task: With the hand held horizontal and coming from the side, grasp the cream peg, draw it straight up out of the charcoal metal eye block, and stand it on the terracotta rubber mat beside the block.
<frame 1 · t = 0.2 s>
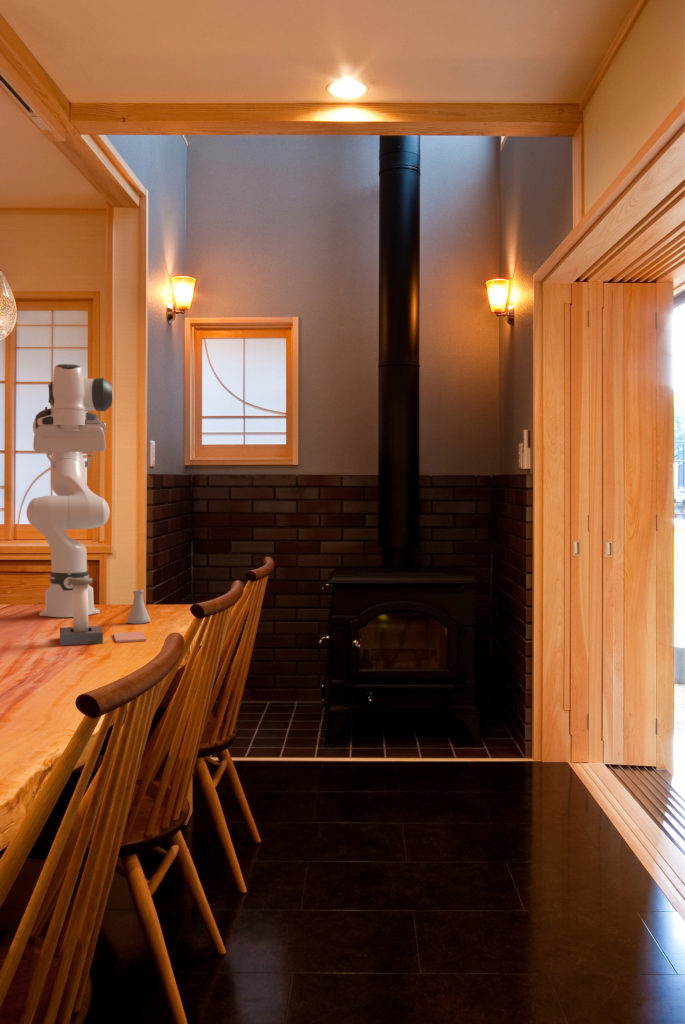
hand: (70, 467, 253), 48 cm above the table, tool pointing down, fingers open, 8 cm apart
peg: (80, 609, 239), in the eye block
flask: (138, 623, 270), on the table
eye block: (81, 640, 240), on the table
pad: (129, 638, 244), on the table
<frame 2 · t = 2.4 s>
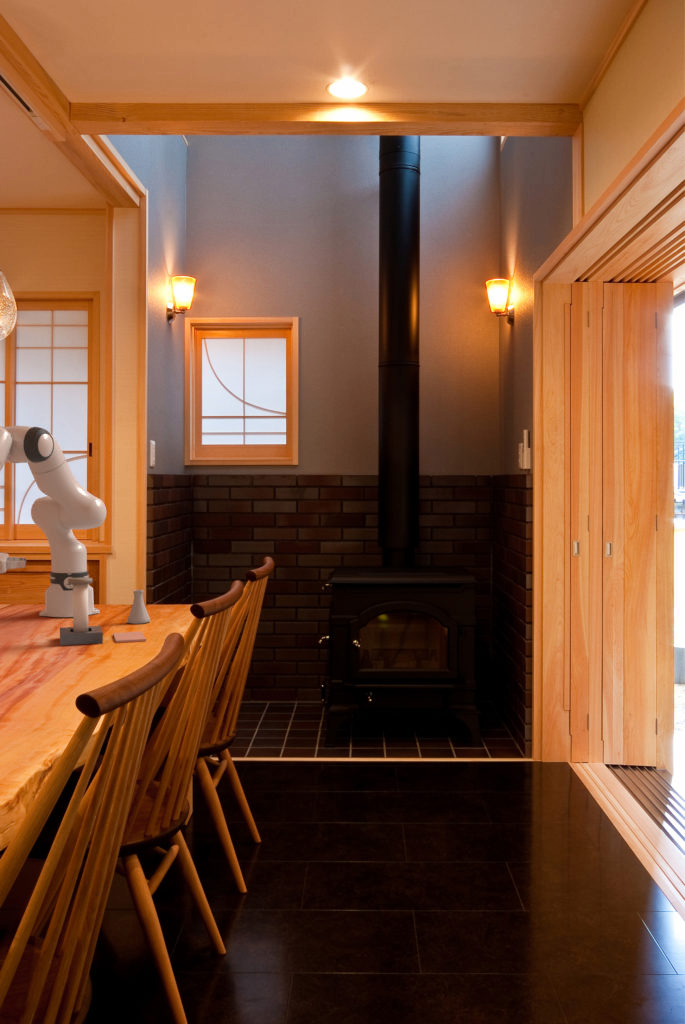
hand: (25, 562, 234), 22 cm above the table, tool horizontal, fingers open, 8 cm apart
nothing on the table moved.
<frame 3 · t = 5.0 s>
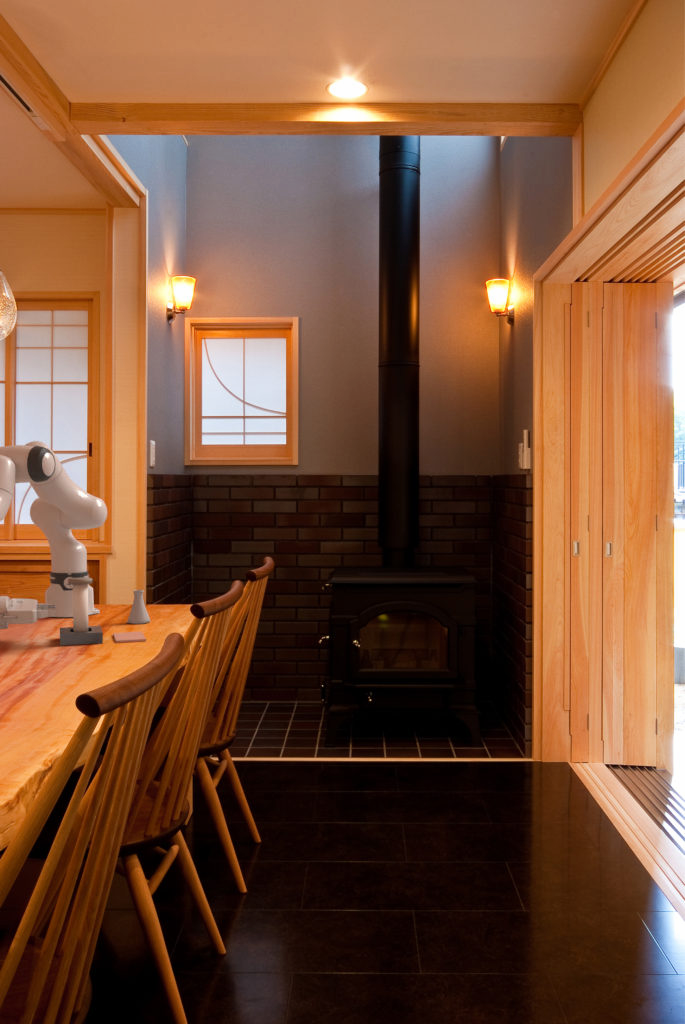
hand: (55, 610, 237), 9 cm above the table, tool horizontal, fingers open, 8 cm apart
nothing on the table moved.
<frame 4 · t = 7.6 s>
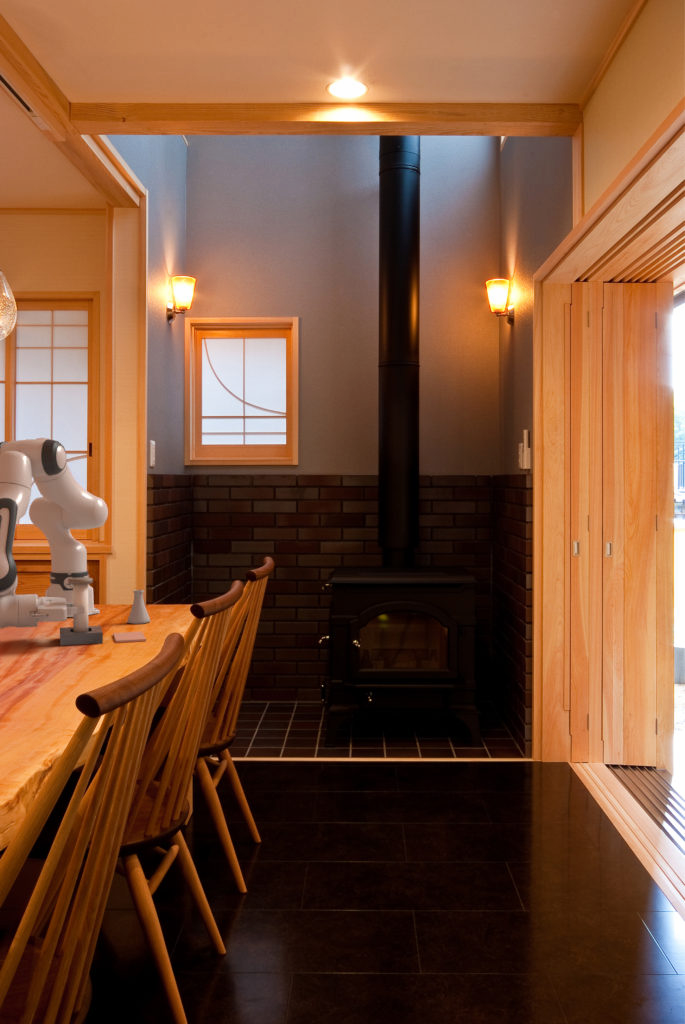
hand: (84, 608, 240), 9 cm above the table, tool horizontal, fingers closed on peg, 4 cm apart
peg: (80, 609, 239), in the eye block, touching gripper
everything else where it was.
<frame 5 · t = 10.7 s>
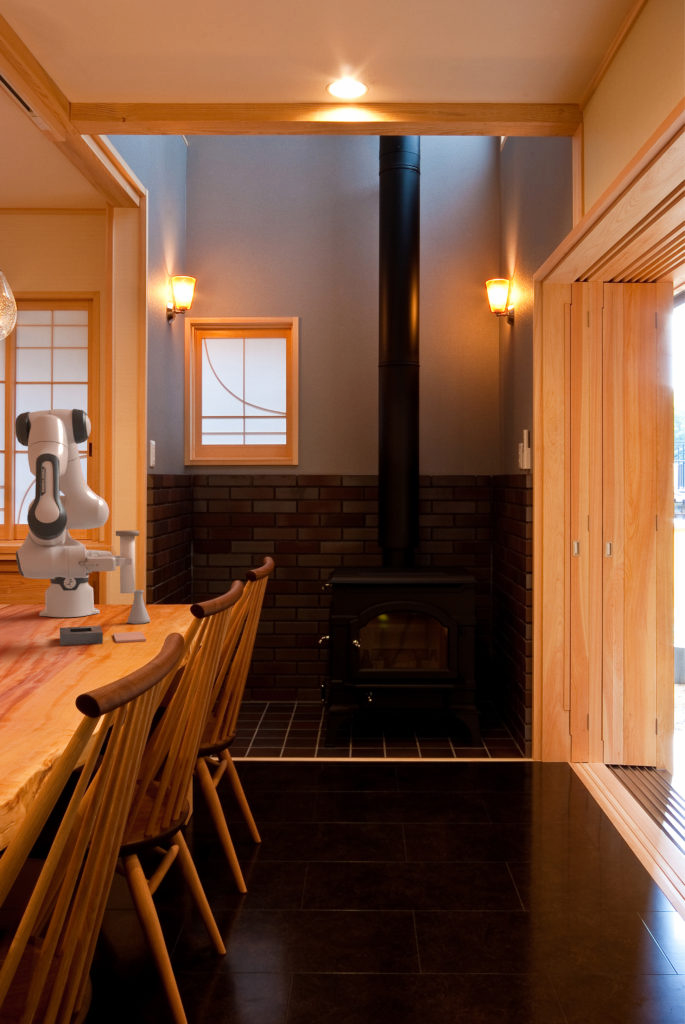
hand: (130, 560, 243), 22 cm above the table, tool horizontal, fingers closed on peg, 4 cm apart
peg: (127, 561, 243), point 22 cm above the table, touching gripper
everything else where it was.
when the fingers open (11 cm above the table, at t = 13.8 s): peg drops 1 cm, resting on pad.
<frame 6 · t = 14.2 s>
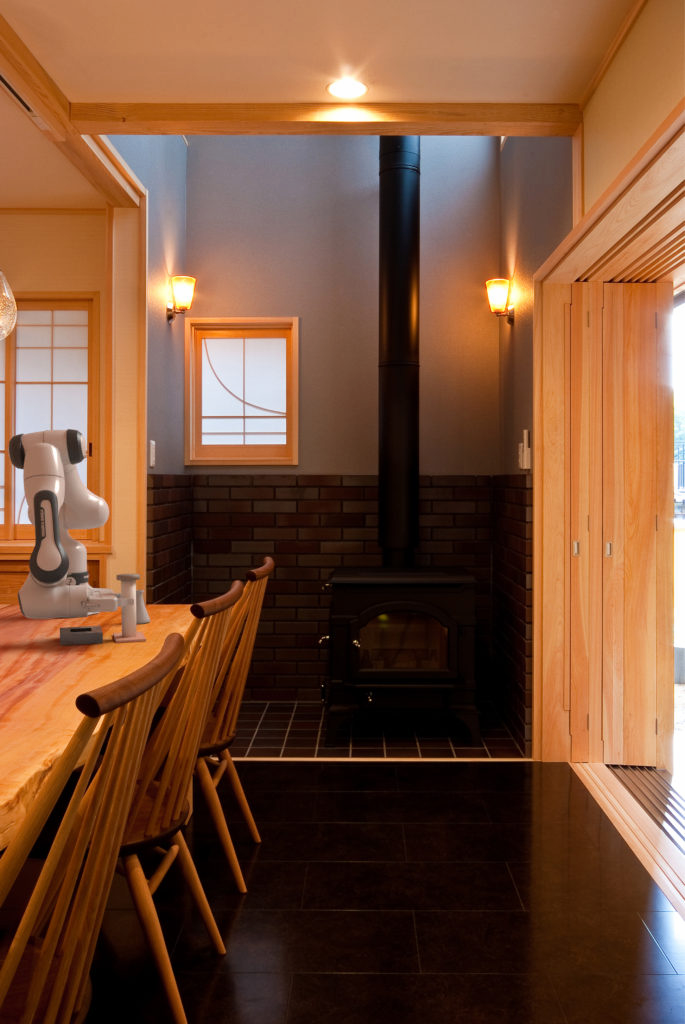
hand: (132, 599, 244), 11 cm above the table, tool horizontal, fingers open, 8 cm apart
peg: (128, 605, 243), on the pad, point 9 cm above the table
everything else where it was.
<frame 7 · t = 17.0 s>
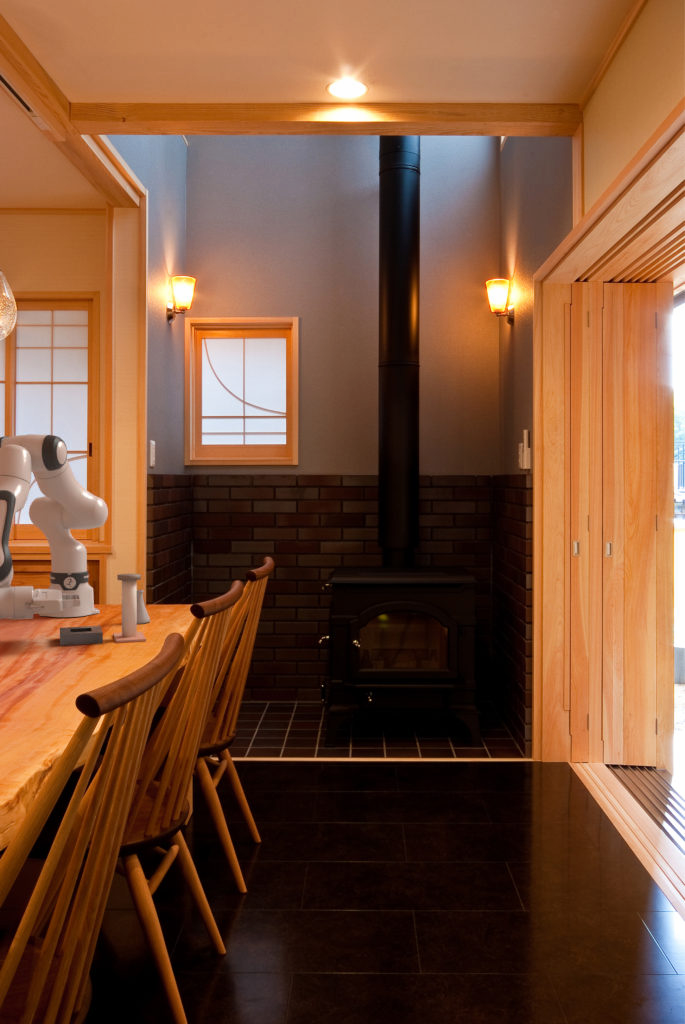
hand: (79, 600, 239), 11 cm above the table, tool horizontal, fingers open, 8 cm apart
nothing on the table moved.
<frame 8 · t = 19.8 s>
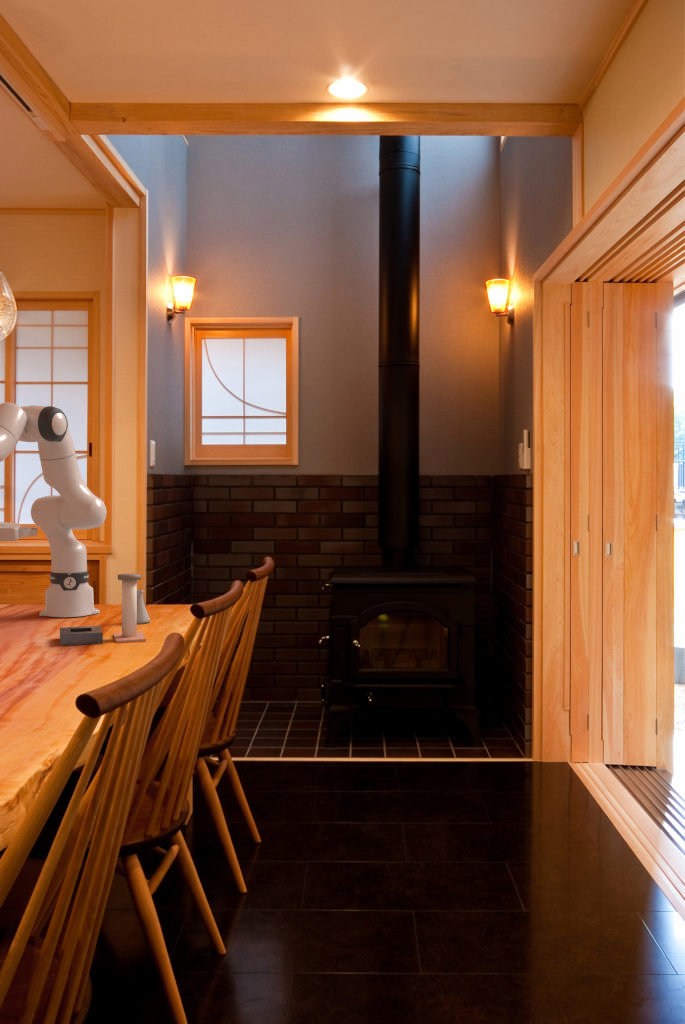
hand: (37, 531, 241), 30 cm above the table, tool horizontal, fingers open, 8 cm apart
nothing on the table moved.
at the end: peg inside the target area on the pad (0.0 cm from its centre), point 9.2 cm above the pad's base; peg tilted 1°; the gripper is holding nothing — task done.
